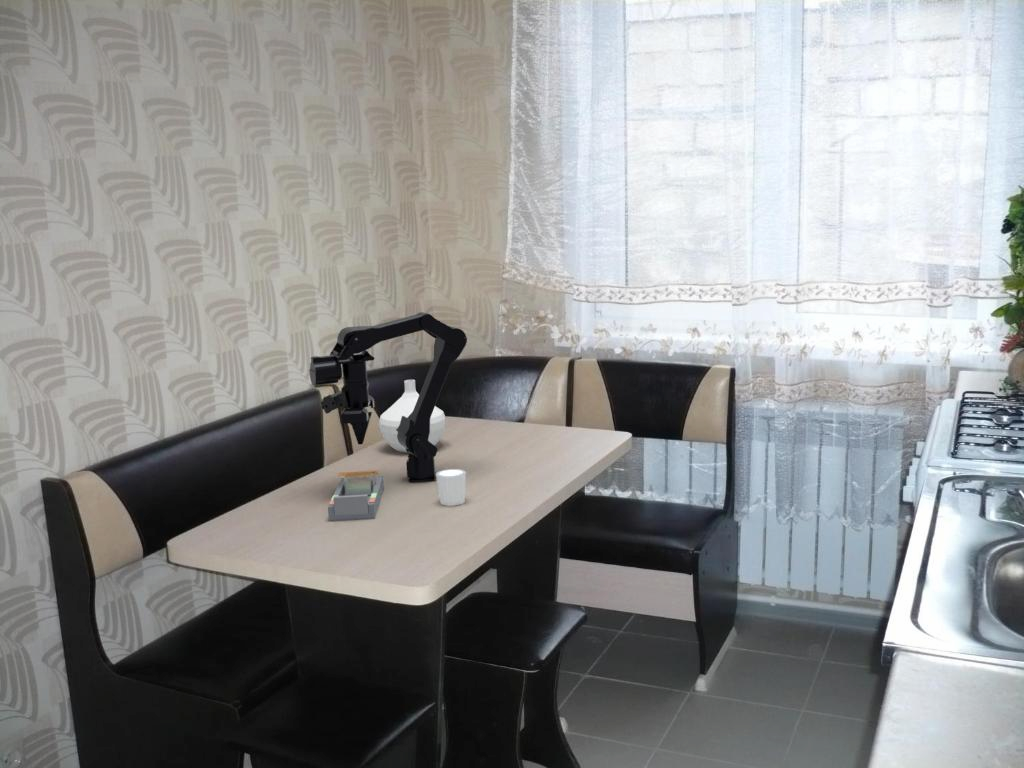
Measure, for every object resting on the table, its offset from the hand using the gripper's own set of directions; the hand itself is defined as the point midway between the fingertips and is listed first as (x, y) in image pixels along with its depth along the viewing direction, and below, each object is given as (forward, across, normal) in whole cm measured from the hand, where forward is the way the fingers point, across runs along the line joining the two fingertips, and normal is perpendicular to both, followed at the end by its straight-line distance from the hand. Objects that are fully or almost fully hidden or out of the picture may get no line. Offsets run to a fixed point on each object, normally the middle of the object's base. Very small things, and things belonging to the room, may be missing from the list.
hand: (360, 443), depth 255 cm
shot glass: (+11, +15, +22) cm, 29 cm away
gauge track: (+11, +12, 0) cm, 17 cm away
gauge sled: (+10, +8, 0) cm, 13 cm away
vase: (+12, -37, +10) cm, 40 cm away
